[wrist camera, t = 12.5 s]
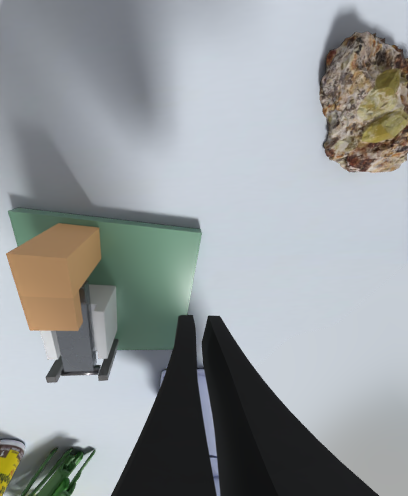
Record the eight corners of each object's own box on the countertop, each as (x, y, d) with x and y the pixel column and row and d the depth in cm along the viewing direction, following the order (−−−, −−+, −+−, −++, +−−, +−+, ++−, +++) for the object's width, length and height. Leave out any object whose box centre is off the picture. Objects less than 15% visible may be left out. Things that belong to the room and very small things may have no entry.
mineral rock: (466, 111, 14) (402, 193, 14) (395, 131, 18) (346, 196, 18) (420, -48, 11) (333, 65, 11) (344, 22, 15) (281, 103, 15)
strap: (100, 368, 19) (97, 376, 19) (66, 369, 19) (61, 377, 18) (93, 280, 15) (88, 287, 14) (47, 278, 14) (40, 284, 13)
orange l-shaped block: (103, 285, 18) (78, 330, 13) (68, 283, 17) (29, 330, 13) (99, 227, 16) (66, 258, 11) (58, 223, 15) (5, 253, 10)
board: (180, 342, 25) (181, 383, 20) (51, 342, 22) (19, 390, 17) (200, 229, 18) (208, 253, 14) (17, 207, 15) (-49, 229, 11)
